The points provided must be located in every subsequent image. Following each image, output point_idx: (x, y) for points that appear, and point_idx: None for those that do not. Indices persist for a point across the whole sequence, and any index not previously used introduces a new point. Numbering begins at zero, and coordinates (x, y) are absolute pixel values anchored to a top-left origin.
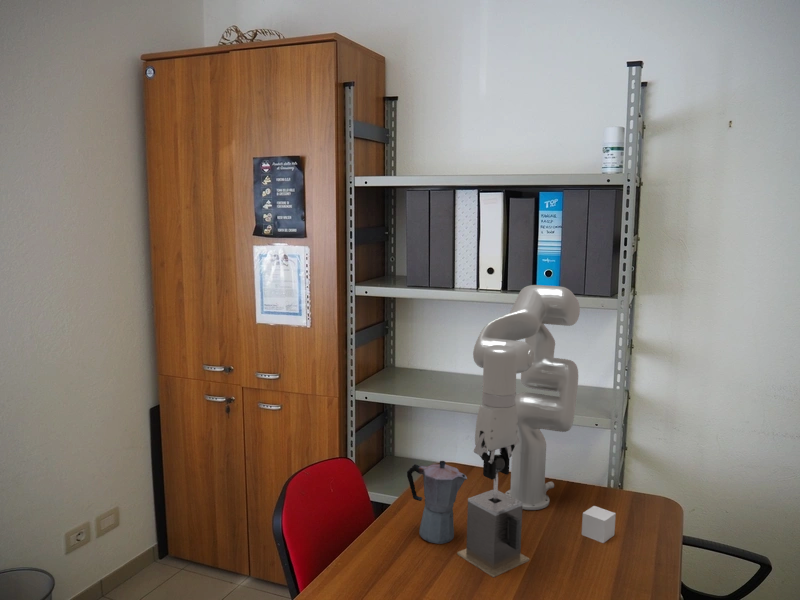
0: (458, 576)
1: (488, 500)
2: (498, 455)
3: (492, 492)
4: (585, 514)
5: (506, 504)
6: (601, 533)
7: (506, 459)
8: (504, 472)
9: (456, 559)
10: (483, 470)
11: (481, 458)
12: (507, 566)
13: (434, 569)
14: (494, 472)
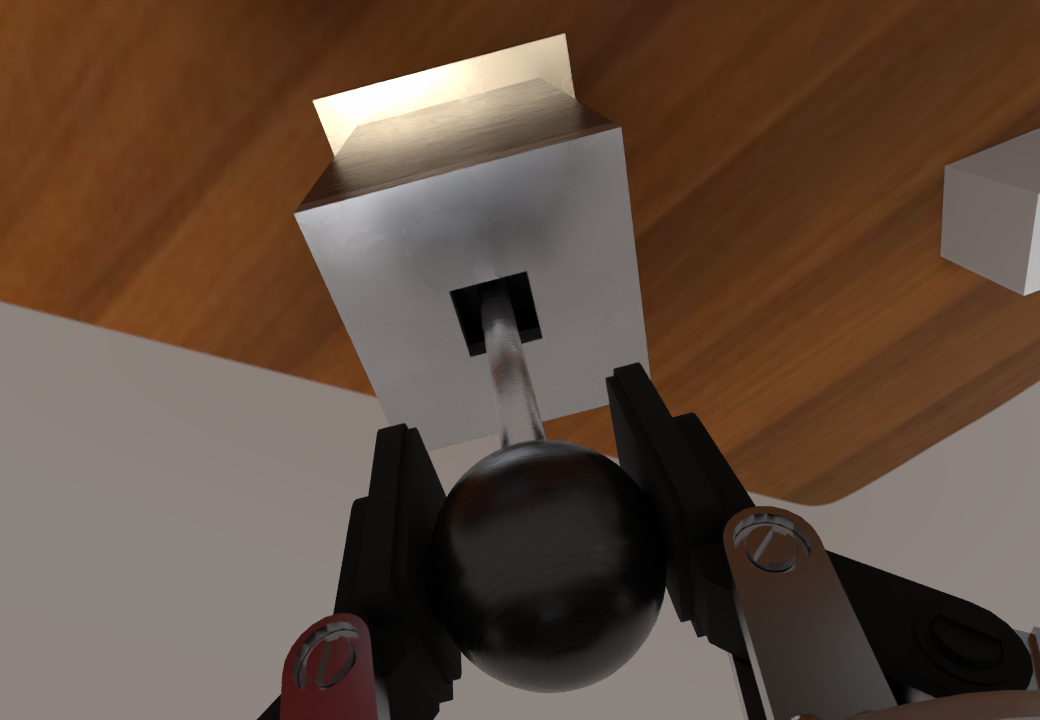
0: (261, 266)
1: (446, 304)
2: (590, 674)
3: (557, 186)
4: (1033, 207)
5: (535, 389)
6: (971, 260)
7: (682, 617)
8: (623, 463)
9: (295, 139)
10: (373, 469)
11: (287, 656)
12: None
13: (159, 180)
14: None
